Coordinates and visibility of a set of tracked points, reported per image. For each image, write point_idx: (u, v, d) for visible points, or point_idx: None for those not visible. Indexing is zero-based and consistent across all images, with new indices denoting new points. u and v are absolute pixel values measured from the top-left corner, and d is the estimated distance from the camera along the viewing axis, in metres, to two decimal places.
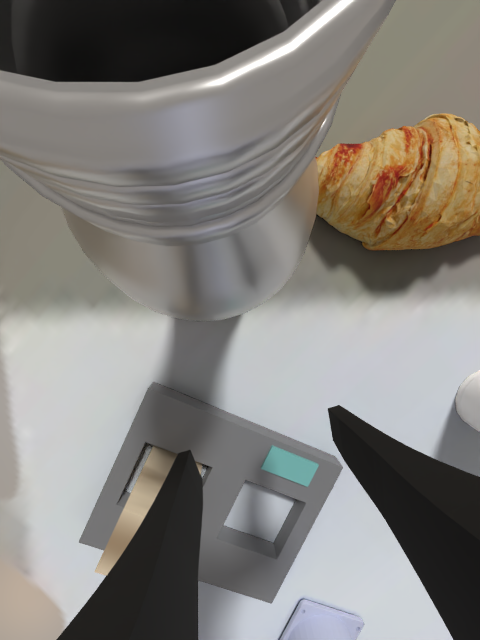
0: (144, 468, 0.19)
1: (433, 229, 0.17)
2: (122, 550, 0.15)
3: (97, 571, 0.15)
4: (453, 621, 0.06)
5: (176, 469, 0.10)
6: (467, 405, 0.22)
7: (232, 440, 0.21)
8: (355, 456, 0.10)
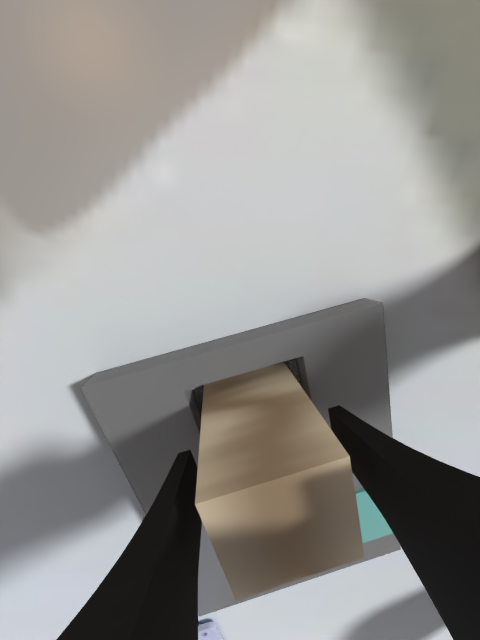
0: None
1: None
2: (269, 508, 0.07)
3: (201, 508, 0.07)
4: (453, 622, 0.06)
5: (176, 469, 0.10)
6: None
7: None
8: (355, 456, 0.10)
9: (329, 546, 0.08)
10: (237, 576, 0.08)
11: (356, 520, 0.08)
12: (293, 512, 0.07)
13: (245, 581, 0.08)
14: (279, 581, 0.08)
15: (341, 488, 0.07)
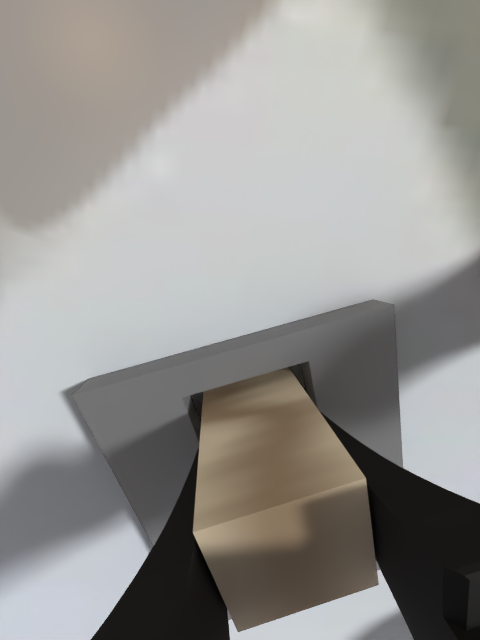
0: None
1: None
2: (276, 535, 0.07)
3: (199, 536, 0.06)
4: (418, 634, 0.06)
5: None
6: None
7: (377, 451, 0.14)
8: None
9: (341, 573, 0.07)
10: (239, 607, 0.07)
11: (371, 546, 0.07)
12: (302, 539, 0.07)
13: (248, 612, 0.07)
14: (285, 611, 0.07)
15: (355, 512, 0.07)
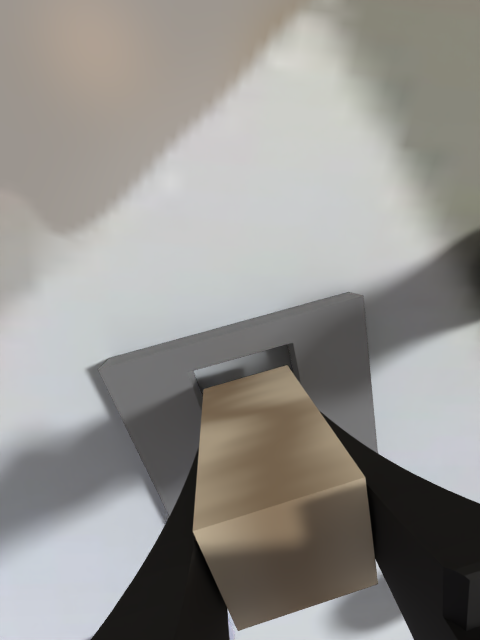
0: None
1: None
2: (276, 534, 0.07)
3: (199, 535, 0.06)
4: (418, 633, 0.06)
5: None
6: None
7: (353, 422, 0.16)
8: None
9: (340, 573, 0.07)
10: (239, 606, 0.07)
11: (370, 545, 0.07)
12: (302, 538, 0.07)
13: (248, 611, 0.07)
14: (285, 610, 0.08)
15: (355, 511, 0.07)
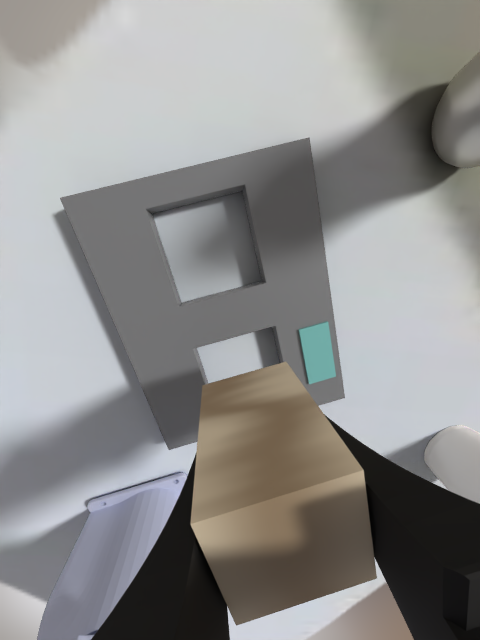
0: None
1: None
2: (274, 527, 0.06)
3: (197, 528, 0.06)
4: (418, 633, 0.06)
5: None
6: (450, 440, 0.23)
7: (307, 279, 0.17)
8: None
9: (339, 567, 0.07)
10: (238, 600, 0.07)
11: (369, 539, 0.07)
12: (300, 531, 0.07)
13: (246, 605, 0.07)
14: (284, 604, 0.07)
15: (353, 505, 0.07)
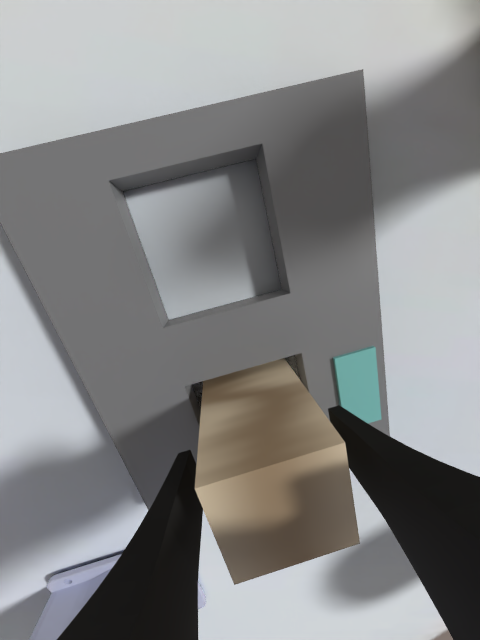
0: None
1: None
2: (267, 493, 0.07)
3: (200, 492, 0.07)
4: (453, 621, 0.06)
5: (176, 469, 0.10)
6: None
7: (349, 288, 0.12)
8: (355, 456, 0.10)
9: (325, 531, 0.08)
10: (236, 560, 0.08)
11: (352, 506, 0.08)
12: (291, 498, 0.08)
13: (243, 565, 0.08)
14: (277, 566, 0.08)
15: (337, 474, 0.08)
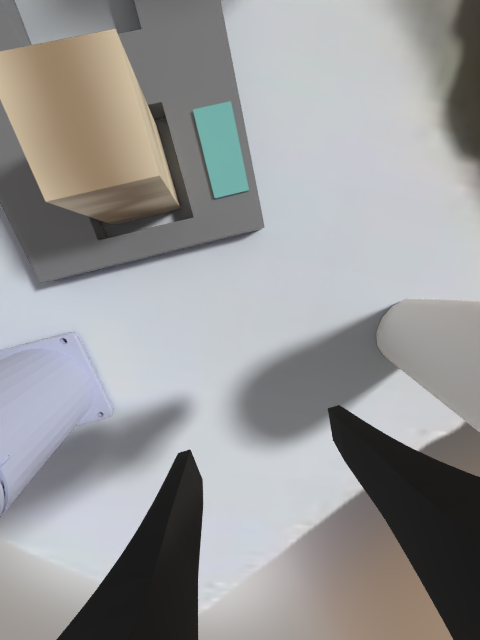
0: (144, 98, 0.12)
1: None
2: (53, 80, 0.09)
3: None
4: (453, 622, 0.06)
5: (176, 469, 0.10)
6: (403, 307, 0.19)
7: (198, 31, 0.13)
8: (355, 456, 0.10)
9: (122, 150, 0.10)
10: (40, 167, 0.09)
11: (141, 121, 0.09)
12: (77, 92, 0.09)
13: (49, 177, 0.09)
14: (82, 185, 0.10)
15: (116, 71, 0.09)
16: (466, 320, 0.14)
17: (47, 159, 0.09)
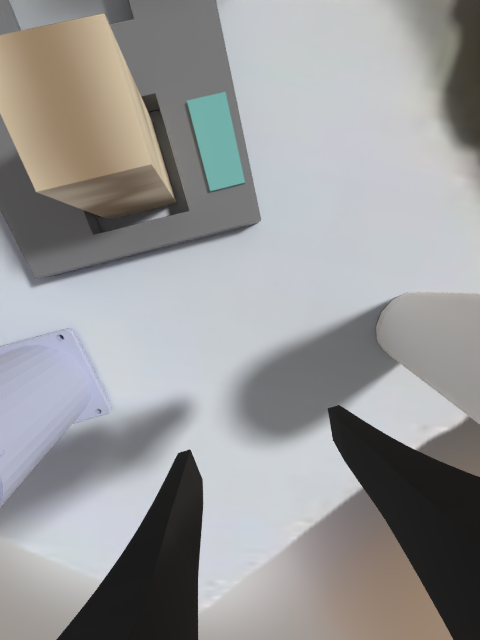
0: (137, 88, 0.12)
1: None
2: (41, 66, 0.09)
3: None
4: (453, 621, 0.06)
5: (176, 469, 0.10)
6: (403, 301, 0.19)
7: (191, 20, 0.13)
8: (355, 456, 0.10)
9: (113, 138, 0.09)
10: (30, 156, 0.09)
11: (132, 108, 0.09)
12: (66, 79, 0.09)
13: (39, 166, 0.09)
14: (73, 175, 0.10)
15: (106, 57, 0.09)
16: (467, 312, 0.14)
17: (37, 148, 0.09)
